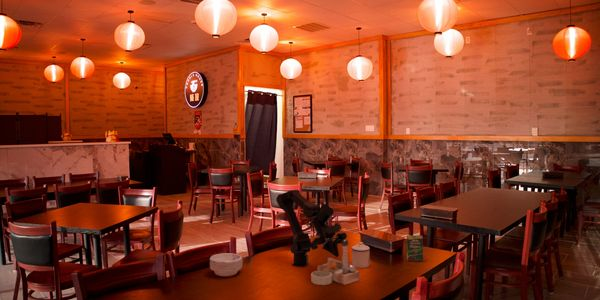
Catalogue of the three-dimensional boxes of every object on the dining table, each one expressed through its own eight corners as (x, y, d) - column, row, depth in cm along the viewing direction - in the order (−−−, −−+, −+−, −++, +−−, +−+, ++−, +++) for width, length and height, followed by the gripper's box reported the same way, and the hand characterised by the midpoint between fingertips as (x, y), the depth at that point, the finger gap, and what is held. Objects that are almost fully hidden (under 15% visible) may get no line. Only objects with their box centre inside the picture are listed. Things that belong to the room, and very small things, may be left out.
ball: (327, 269, 202) (327, 261, 202) (329, 266, 205) (329, 259, 205) (334, 269, 201) (334, 262, 200) (337, 267, 204) (337, 260, 204)
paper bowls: (248, 271, 212) (248, 254, 212) (229, 280, 199) (229, 263, 198) (223, 266, 219) (223, 251, 219) (203, 275, 206) (202, 259, 206)
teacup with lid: (372, 267, 216) (372, 244, 216) (355, 269, 214) (355, 245, 214) (363, 260, 228) (363, 238, 227) (347, 261, 226) (347, 239, 225)
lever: (319, 265, 206) (319, 233, 205) (331, 262, 211) (331, 231, 210) (345, 274, 193) (345, 240, 192) (356, 271, 198) (356, 237, 197)
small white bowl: (308, 283, 194) (308, 275, 194) (315, 277, 203) (315, 269, 203) (328, 286, 191) (328, 278, 191) (334, 279, 200) (334, 271, 199)
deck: (317, 274, 207) (317, 265, 206) (332, 270, 212) (331, 262, 212) (344, 284, 193) (344, 275, 192) (359, 280, 198) (359, 271, 198)
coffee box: (407, 261, 226) (407, 236, 225) (406, 259, 229) (406, 234, 228) (423, 261, 225) (423, 236, 224) (422, 260, 228) (422, 235, 227)
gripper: (314, 220, 196) (331, 250, 188) (344, 215, 208) (361, 243, 200) (303, 234, 203) (319, 264, 194) (333, 229, 214) (349, 256, 206)
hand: (338, 256), depth 198 cm, fingers closed
